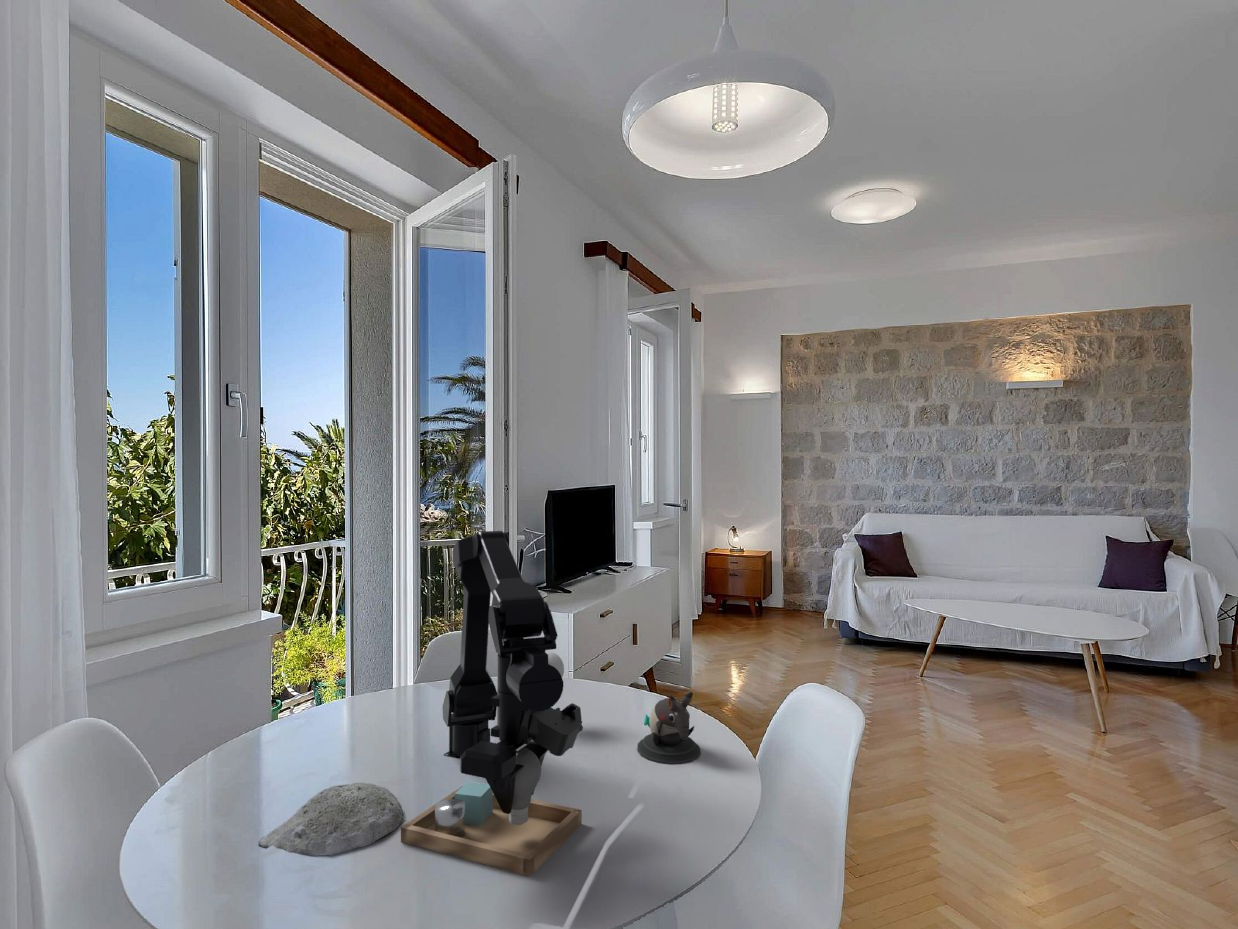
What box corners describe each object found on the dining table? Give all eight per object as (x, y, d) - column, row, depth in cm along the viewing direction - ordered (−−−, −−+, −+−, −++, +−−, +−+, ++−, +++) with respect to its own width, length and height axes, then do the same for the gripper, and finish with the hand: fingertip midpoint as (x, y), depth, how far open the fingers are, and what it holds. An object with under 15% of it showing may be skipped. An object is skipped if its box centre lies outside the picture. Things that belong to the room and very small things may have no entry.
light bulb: (532, 837, 90) (533, 759, 91) (489, 832, 92) (489, 755, 92) (546, 815, 96) (546, 742, 96) (505, 810, 97) (505, 738, 98)
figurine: (679, 734, 133) (679, 673, 133) (713, 759, 123) (714, 693, 122) (626, 744, 128) (626, 681, 128) (657, 771, 118) (658, 702, 118)
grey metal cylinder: (428, 839, 94) (428, 809, 94) (447, 825, 97) (447, 796, 97) (452, 845, 92) (453, 815, 92) (470, 831, 96) (471, 802, 96)
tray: (400, 846, 93) (400, 827, 93) (464, 801, 106) (464, 784, 106) (529, 881, 85) (529, 860, 85) (581, 828, 98) (581, 810, 98)
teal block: (454, 822, 98) (454, 793, 98) (467, 809, 102) (467, 781, 102) (480, 825, 97) (480, 796, 97) (492, 812, 101) (492, 784, 101)
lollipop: (571, 726, 138) (571, 650, 138) (548, 737, 132) (548, 658, 132) (543, 719, 142) (543, 645, 142) (520, 730, 136) (520, 653, 136)
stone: (359, 770, 110) (424, 766, 102) (365, 822, 108) (431, 821, 101) (249, 810, 95) (317, 808, 87) (254, 870, 93) (323, 874, 86)
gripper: (535, 718, 82) (534, 851, 82) (601, 676, 100) (601, 786, 99) (457, 706, 87) (457, 831, 87) (534, 667, 104) (534, 772, 104)
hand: (518, 804), depth 94 cm, fingers closed on light bulb, 5 cm apart
